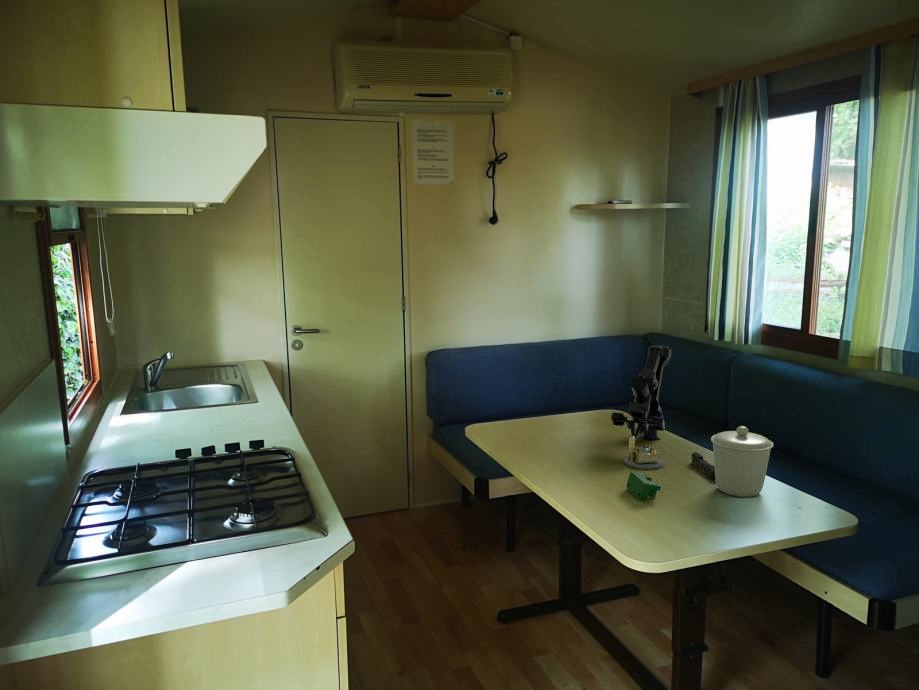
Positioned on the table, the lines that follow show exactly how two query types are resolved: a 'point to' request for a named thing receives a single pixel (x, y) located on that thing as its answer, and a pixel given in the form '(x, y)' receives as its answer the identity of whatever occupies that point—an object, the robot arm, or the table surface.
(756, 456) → the canister
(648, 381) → the robot arm
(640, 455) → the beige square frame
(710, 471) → the dark brown log
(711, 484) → the table surface
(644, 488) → the green mounting bracket
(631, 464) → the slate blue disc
